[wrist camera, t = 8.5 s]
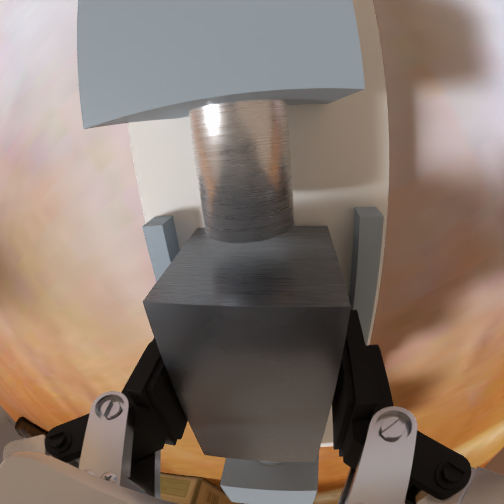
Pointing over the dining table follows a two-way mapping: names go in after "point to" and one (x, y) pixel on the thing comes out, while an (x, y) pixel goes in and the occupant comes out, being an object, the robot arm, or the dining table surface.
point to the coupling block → (254, 341)
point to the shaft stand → (249, 142)
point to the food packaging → (191, 490)
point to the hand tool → (27, 429)
